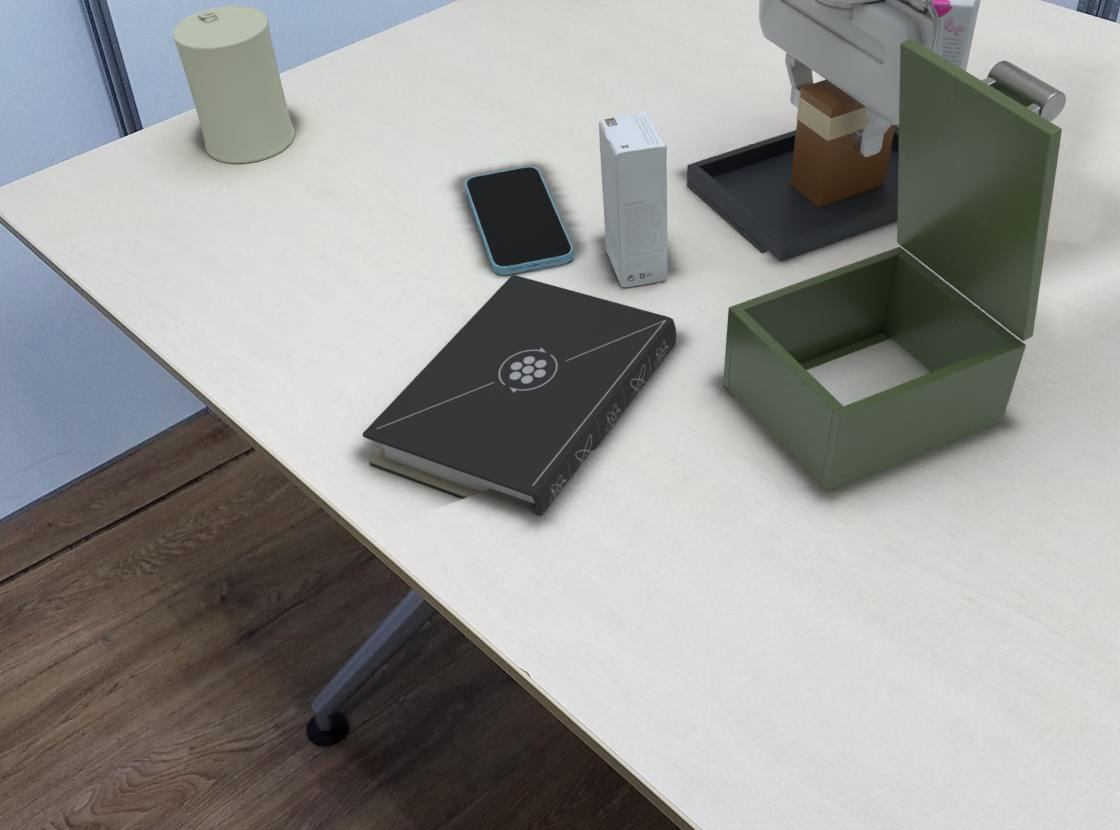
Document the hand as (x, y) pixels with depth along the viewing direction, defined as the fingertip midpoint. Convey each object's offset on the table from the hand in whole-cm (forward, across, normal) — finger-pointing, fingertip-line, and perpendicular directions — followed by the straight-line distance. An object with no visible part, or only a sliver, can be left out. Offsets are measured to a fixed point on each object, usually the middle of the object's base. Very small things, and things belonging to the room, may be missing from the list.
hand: (833, 128), depth 100 cm
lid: (-10, -26, +10) cm, 29 cm away
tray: (+6, 0, 0) cm, 6 cm away
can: (+6, +39, +43) cm, 58 cm away
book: (+6, -13, +36) cm, 39 cm away
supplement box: (+6, +7, -16) cm, 19 cm away
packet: (+6, 0, -1) cm, 6 cm away
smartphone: (+6, +10, +26) cm, 29 cm away
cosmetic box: (+6, -1, +20) cm, 21 cm away
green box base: (+6, -26, +15) cm, 31 cm away
